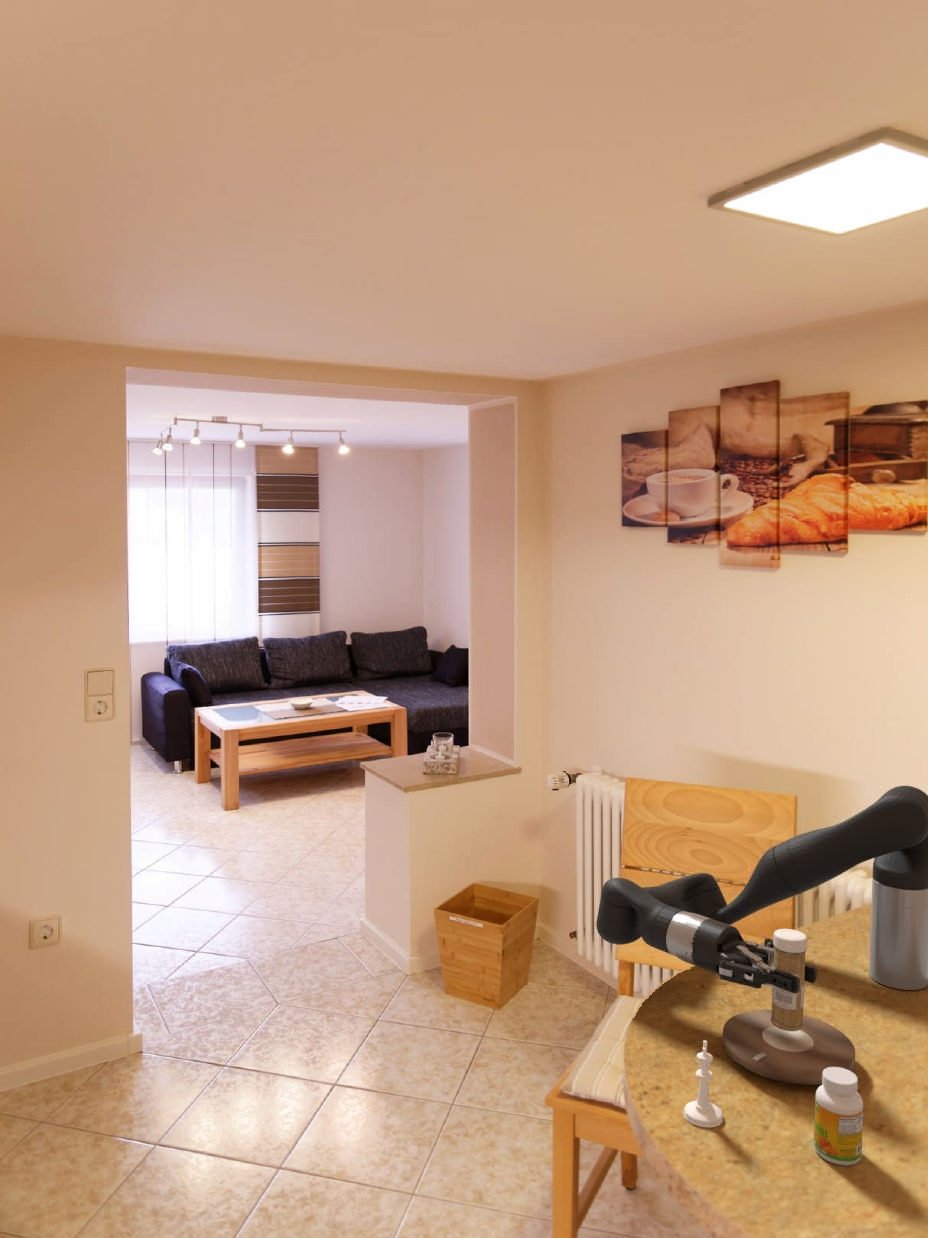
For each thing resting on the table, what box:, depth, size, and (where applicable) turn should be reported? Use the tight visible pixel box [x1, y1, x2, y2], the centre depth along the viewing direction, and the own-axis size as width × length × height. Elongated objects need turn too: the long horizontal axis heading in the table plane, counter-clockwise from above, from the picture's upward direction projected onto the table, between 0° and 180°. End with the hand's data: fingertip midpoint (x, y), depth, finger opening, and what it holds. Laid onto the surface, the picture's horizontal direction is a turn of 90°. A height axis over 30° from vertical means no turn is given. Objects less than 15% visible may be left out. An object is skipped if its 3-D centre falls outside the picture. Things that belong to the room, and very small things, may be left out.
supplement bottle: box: [813, 1067, 864, 1166], centre depth 113 cm, size 5×5×10 cm
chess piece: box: [683, 1039, 724, 1129], centre depth 120 cm, size 5×5×10 cm
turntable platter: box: [722, 1009, 856, 1086], centre depth 134 cm, size 18×18×2 cm
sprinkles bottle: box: [771, 928, 808, 1031], centre depth 133 cm, size 5×5×14 cm
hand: (806, 981), depth 131 cm, fingers closed on sprinkles bottle, 4 cm apart
